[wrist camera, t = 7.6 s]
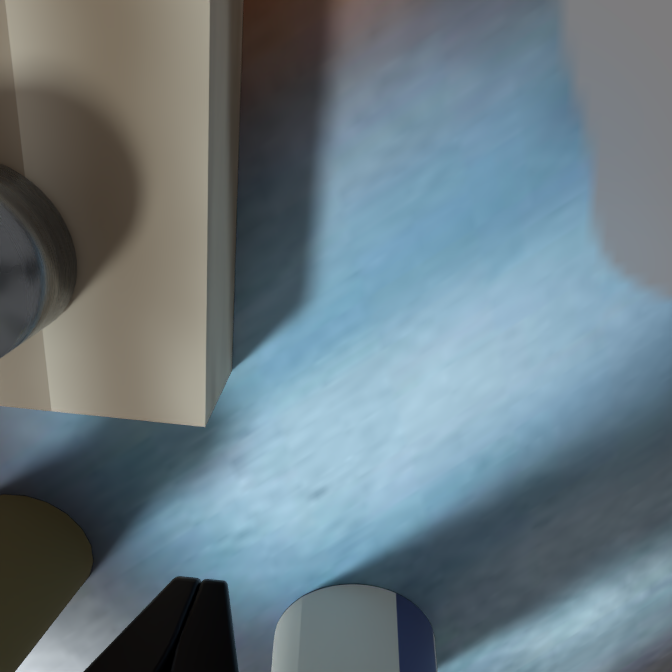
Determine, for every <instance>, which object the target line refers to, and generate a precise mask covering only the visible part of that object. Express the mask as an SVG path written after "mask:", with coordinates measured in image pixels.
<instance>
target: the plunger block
mask: <svg viewBox="0 0 672 672" xmlns="http://www.w3.org/2000/svg"><path fill="white" fill-rule="evenodd" d="M242 28H243V0H0V164H3V165H5V166H7V167H10V168H11V169H13V170H15V171H16V172H18V173H20V174H22V175H23V176H24V177H26V178H27V179H28V180H30V181H31V182H32V183H34V184H35V185H36V186H37V187H38V188H39V189H40V190H41V191H42V192H43V193H44V194H45V195H46V196H47V197H48V198H49V199H50V201H51V202H52V203H53V204H54V206H55V207H56V208H57V210H58V211H59V213H60V214H61V216H62V218H63V220H64V221H65V223H66V225H67V227H68V230H69V232H70V234H71V237H72V240H73V244H74V247H75V252H76V258H77V278H76V285H75V288H74V292H73V295H72V297H71V299H70V301H69V304H68V305H67V307H66V308H65V310H64V311H63V312H62V313H61V314H60V316H59V317H58V318H57V319H56V320H54V321H53V322H52V323H50V324H49V325H48V326H46V327H45V328H43V329H42V330H41V331H39V332H38V333H36V334H35V335H33V336H32V337H31V338H29V339H28V340H26V341H25V342H23V343H22V344H20V345H19V346H18V347H16V348H15V349H13V350H12V351H10V352H9V353H7V354H6V355H5V356H3V357H2V358H0V406H6V407H16V408H26V409H35V410H45V411H55V412H64V413H74V414H84V415H94V416H103V417H113V418H123V419H132V420H142V421H152V422H161V423H171V424H181V425H190V426H200V427H205V426H206V424H207V422H208V420H209V418H210V416H211V414H212V412H213V410H214V407H215V405H216V403H217V401H218V399H219V397H220V395H221V393H222V391H223V388H224V386H225V384H226V382H227V380H228V378H229V376H230V374H231V371H232V348H233V316H234V284H235V252H236V220H237V188H238V156H239V124H240V92H241V60H242Z"/></svg>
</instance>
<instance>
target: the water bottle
mask: <svg viewBox="0 0 672 672" xmlns="http://www.w3.org/2000/svg"><path fill="white" fill-rule="evenodd" d="M271 672H437V660H436V649H435V638H434V633H433V629H432V627H431V624H430V622H429V621H428V619H427V617H426V616H425V615H424V613H423V612H422V611H421V610H420V609H419V608H418V607H417V606H416V605H414V604H413V603H412V602H410V601H409V600H408V599H406V598H404V597H402V596H401V595H399V594H396V593H394V592H392V591H389V590H386V589H383V588H379V587H375V586H369V585H359V584H346V585H336V586H331V587H326V588H322V589H319V590H316V591H314V592H311V593H309V594H307V595H305V596H302V597H301V598H300V599H298V600H297V601H296V602H294V603H293V604H292V605H291V606H290V607H289V608H288V609H287V610H286V611H285V612H284V614H283V615H282V616H281V618H280V620H279V622H278V624H277V627H276V630H275V636H274V646H273V658H272V669H271Z"/></svg>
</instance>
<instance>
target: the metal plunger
mask: <svg viewBox="0 0 672 672" xmlns="http://www.w3.org/2000/svg"><path fill="white" fill-rule="evenodd" d="M76 278H77V258H76V252H75V247H74V244H73V240H72V237H71V234H70V232H69V230H68V227H67V225H66V223H65V221H64V220H63V218H62V216H61V214H60V213H59V211H58V210H57V208H56V207H55V206H54V204H53V203H52V202H51V201H50V199H49V198H48V197H47V196H46V195H45V194H44V193H43V192H42V191H41V190H40V189H39V188H38V187H37V186H36V185H35V184H34V183H32V182H31V181H30V180H28V179H27V178H26V177H24V176H23V175H22V174H20V173H18V172H16V171H15V170H13V169H11V168H10V167H7V166H5V165H3V164H0V358H2V357H3V356H5V355H6V354H7V353H9V352H10V351H12V350H13V349H15V348H16V347H18V346H19V345H20V344H22V343H23V342H25V341H26V340H28V339H29V338H31V337H32V336H33V335H35V334H36V333H38V332H39V331H41V330H42V329H43V328H45V327H46V326H48V325H49V324H50V323H52V322H53V321H54V320H56V319H57V318H58V317H59V316H60V314H61V313H62V312H63V311H64V310H65V308H66V307H67V305H68V304H69V301H70V299H71V297H72V295H73V292H74V288H75V285H76Z"/></svg>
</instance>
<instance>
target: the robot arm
mask: <svg viewBox="0 0 672 672" xmlns="http://www.w3.org/2000/svg"><path fill="white" fill-rule="evenodd" d="M84 672H239V671H238V663H237V655H236V647H235V639H234V631H233V623H232V615H231V607H230V599H229V591H228V584H227V582H226V581H223V580H213V579H204V580H203V581H202V582H201V580H200V579H198V578H193V577H183V576H178V577H176V578H174V579H173V580H172V581H171V582H170V583H169V584H168V585H167V586H166V587H165V588H164V589H163V590H162V591H161V592H160V593H159V594H158V595H157V596H156V597H155V598H154V599H153V600H152V602H151V603H150V604H149V605H148V606H147V607H146V608H145V609H144V610H143V611H142V612H141V613H140V614H139V615H138V616H137V617H136V618H135V619H134V620H133V621H132V622H131V623H130V624H129V625H128V626H127V627H126V628H125V629H124V630H123V631H122V633H121V634H120V635H119V636H118V637H117V638H116V639H115V640H114V641H113V642H112V643H111V644H110V645H109V646H108V647H107V648H106V649H105V650H104V651H103V652H102V653H101V654H100V655H99V656H98V657H97V658H96V659H95V660H94V661H93V662H92V664H91V665H90V666H89V667H88V668H87V669H86V670H85V671H84Z"/></svg>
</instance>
